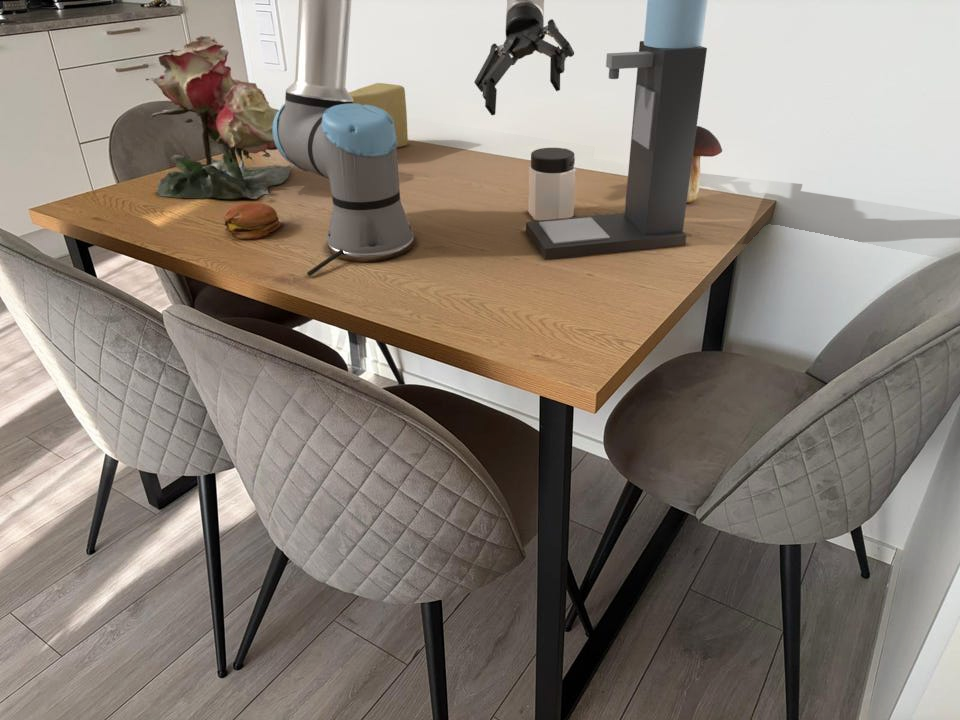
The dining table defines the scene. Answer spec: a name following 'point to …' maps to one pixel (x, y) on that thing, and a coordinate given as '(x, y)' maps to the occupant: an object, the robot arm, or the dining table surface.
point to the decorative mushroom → (705, 147)
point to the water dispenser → (647, 142)
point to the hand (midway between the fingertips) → (521, 98)
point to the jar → (551, 184)
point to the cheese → (386, 105)
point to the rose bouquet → (218, 125)
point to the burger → (251, 220)
